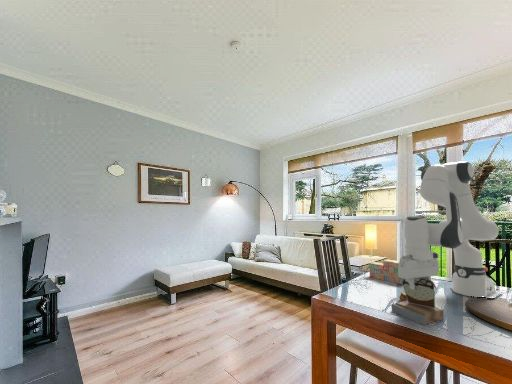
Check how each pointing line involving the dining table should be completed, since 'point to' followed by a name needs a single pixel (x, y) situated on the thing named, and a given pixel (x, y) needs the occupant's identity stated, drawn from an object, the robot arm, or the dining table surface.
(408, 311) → the corner jig
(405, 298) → the toy sandwich meal
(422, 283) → the food container
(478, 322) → the dining table surface
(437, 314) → the walnut slab
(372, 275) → the stack of blocks
